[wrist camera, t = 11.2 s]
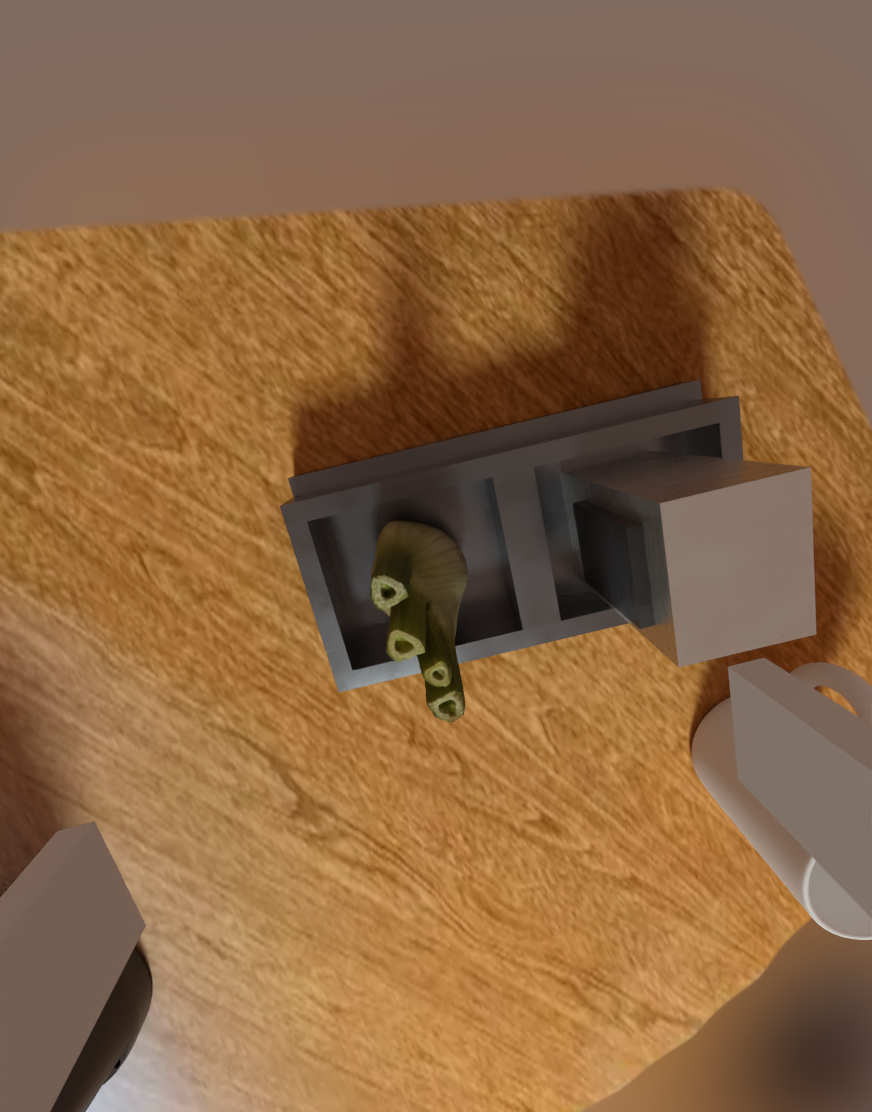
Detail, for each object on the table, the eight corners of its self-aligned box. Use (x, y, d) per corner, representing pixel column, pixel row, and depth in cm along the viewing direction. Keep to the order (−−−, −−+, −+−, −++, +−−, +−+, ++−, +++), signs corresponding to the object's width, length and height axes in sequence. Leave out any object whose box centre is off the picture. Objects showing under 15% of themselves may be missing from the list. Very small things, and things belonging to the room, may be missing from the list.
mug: (717, 625, 31) (862, 719, 21) (840, 637, 32) (1035, 732, 22) (673, 789, 34) (782, 937, 24) (786, 796, 35) (937, 943, 25)
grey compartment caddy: (352, 668, 31) (318, 826, 19) (294, 475, 28) (207, 514, 16) (704, 584, 31) (898, 688, 19) (685, 381, 28) (902, 348, 15)
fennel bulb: (373, 509, 27) (347, 574, 15) (464, 510, 27) (508, 574, 16) (374, 612, 28) (352, 741, 17) (461, 611, 29) (499, 739, 17)
